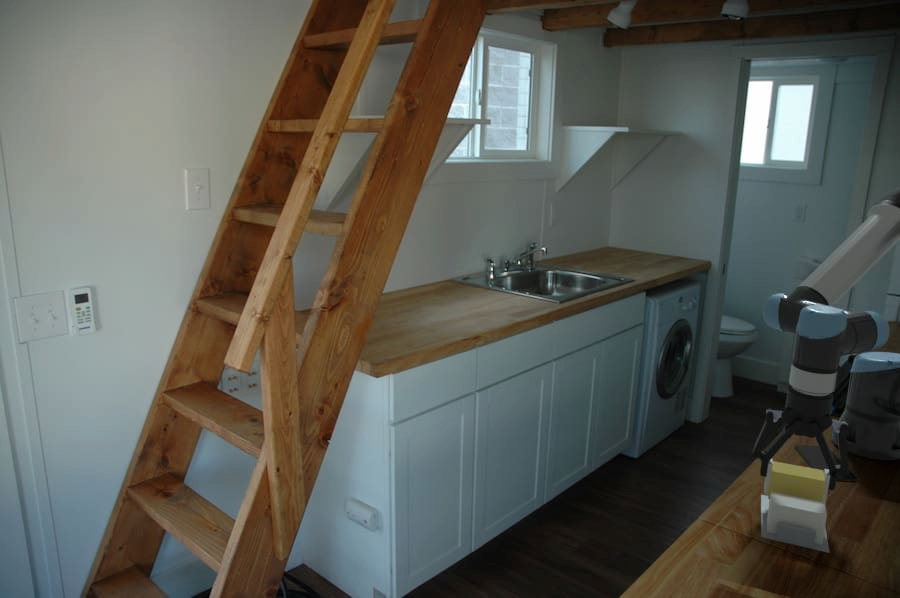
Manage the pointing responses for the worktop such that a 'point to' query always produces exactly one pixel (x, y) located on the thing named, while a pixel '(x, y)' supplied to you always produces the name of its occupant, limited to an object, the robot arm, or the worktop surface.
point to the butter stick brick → (797, 481)
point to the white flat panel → (796, 513)
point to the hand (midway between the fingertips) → (793, 496)
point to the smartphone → (821, 460)
